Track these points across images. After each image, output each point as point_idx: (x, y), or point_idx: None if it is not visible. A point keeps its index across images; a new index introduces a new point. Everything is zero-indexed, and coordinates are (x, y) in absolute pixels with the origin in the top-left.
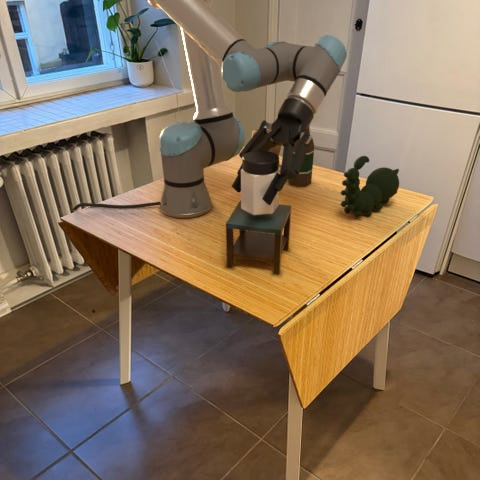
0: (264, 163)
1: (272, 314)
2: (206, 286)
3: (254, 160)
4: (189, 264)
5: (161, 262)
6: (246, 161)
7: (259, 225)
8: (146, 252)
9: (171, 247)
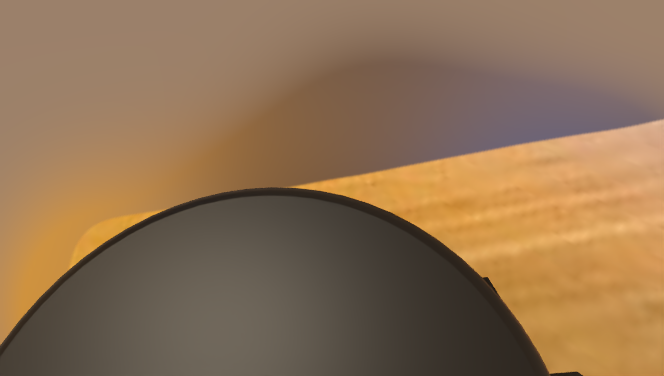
0: (26, 315)
1: (101, 240)
2: (333, 183)
3: (206, 277)
4: (475, 210)
5: (539, 151)
6: (279, 188)
7: None
8: (631, 145)
9: (624, 223)
